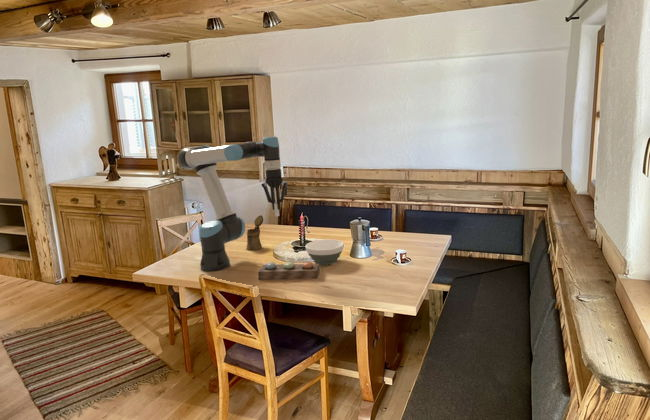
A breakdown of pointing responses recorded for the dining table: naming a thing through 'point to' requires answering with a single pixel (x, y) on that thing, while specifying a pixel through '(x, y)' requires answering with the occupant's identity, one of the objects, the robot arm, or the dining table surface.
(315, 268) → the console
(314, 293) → the dining table surface
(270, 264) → the slate button
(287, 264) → the sage button
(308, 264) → the rust button
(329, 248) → the bowl
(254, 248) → the brown lidded stein
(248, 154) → the robot arm
